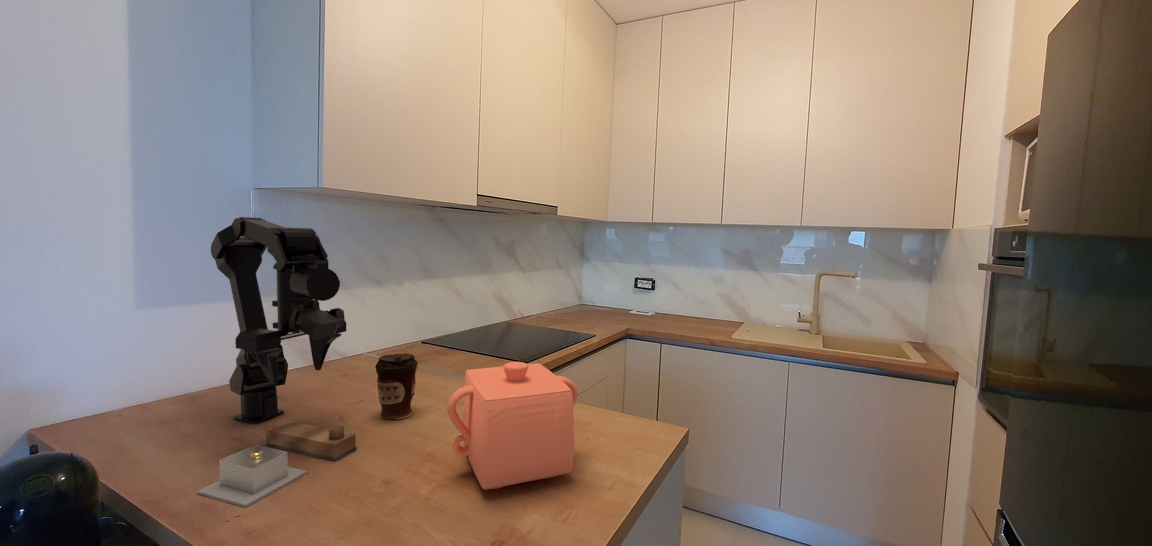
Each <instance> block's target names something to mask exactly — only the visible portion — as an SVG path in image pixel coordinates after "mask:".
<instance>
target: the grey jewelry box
mask: <svg viewBox="0 0 1152 546" xmlns="http://www.w3.org/2000/svg"><path fill="white" fill-rule="evenodd" d="M288 457H289V456H288V451H286V450H282V449H277V448H273V447H268V446H263V445H259V444H253V445H251V446H249V447H247V448H244V449H242V450H239V451H237V452H235V453H233V454H229V455H228V456H226V457H222V458H221V459H219V460H218V463H219V466H218V467H219V481H220V486H224V487H228V488H231V489H235V490H239V491H242V492H246V493H250V494H256V493H257V492H259V491H261V490H263V489H265V488H267V487H269V486H270V485H272V484H274V483H276V482H278V481H280V480H282V479H283V478H285V477H287V476H288V467H289V463H288V462H289V461H288Z"/></svg>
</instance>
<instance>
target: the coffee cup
mask: <svg viewBox="0 0 1152 546" xmlns="http://www.w3.org/2000/svg"><path fill="white" fill-rule="evenodd" d="M415 357H416V356H415V355H414V354H412V353H394V354H384V355H381V356H380V357H378V360H377V363H376V364H375V367H374V368H375V373H377V379H376V380H377V381H376V384H377V391H378V395H377V396H378V402H379V404H380V407H381V413H380V417H381V418H382V419H385V420H402V419H406V418H409V417H411V416H412V415H413V410H412V407H411V405H412V401H413V397H414V396H415V391H416V390H415V389H416V372H417V370H418V365H419V364H418V363H419V362H418V361H417V360H416V359H415Z"/></svg>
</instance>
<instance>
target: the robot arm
mask: <svg viewBox="0 0 1152 546" xmlns="http://www.w3.org/2000/svg"><path fill="white" fill-rule="evenodd" d="M316 233H317V232H316V231H315V230H314V229H313V228H312V227H311V228H310V227H285V226H282V225H279V224H277V223H274V222H270V221H267V220H266V219H265V218H261V217H249V216H247V217H245V216H239V217H237V218H236V217H235V218H234V219H233V221H232V223H231V224H230V225H229V226H227V227H225V228H223V229H221V230H219V232H217V233H216V234H215V236H214V238H213V240H212V242H211V246H210V255H211V257H212V259H214V261H215V265H216V267H217V269H218V270H219V272H221V273H222V274H223V275H224V276H225V277H226V278H227V279H228V281H229V284H230V290H231V293H232V294H231V295H232V298H233V305H234V308H235V314H236V318H237V324H238V329H239V332H238V333H237V336H236V337H235V349H237V350H239V352H238V354H237V356H236V358H235V359H236V360H235V362H236V363H235V364H236V366H235V368H234V370H233V372H232V374H231V376H230V378H229V381H228V382H229V388H230V392H232V393H234V394H237V395H238V396H240V412H241V413H240V414H238V415H235V416H234V417H233V420H236V421H239V422H246V423H251V424H259V423H261V422H264V421H266V420H269V419H272V418H273V417H276V416H279V415H281V414H284V413H285V410H284V409H279V407H278V405H279V404H278V403H279V402H278V393H277V387H280V386H285V385H286V382H287V381H286V380H287V375H288V372H289V371H288V369H289V363H288V360H287V359H286V358H285V353H284V347H283V345H282V344H281V343H282V341H285V340H289V339H293V338H297V337H302V336H308V339H309V346H310V350H311V351H310V352H311V358H312V363H313V366H314V369H315V371H321V369H322V367H323V364H324V361H325V359H326V357H327V355H328V351H329V348H330V346H331V345H332V343H333V342H334V341H336V340H337V338H340V337H341V336H342V333H344V332H347V322H346V321H347V320H345V311H344V309H342V308H340V307H336V308H335V307H334V308H331V309H330V310H328V309H327V310H322V309H321V308H320V302H319V301H321V302H324V301H329V300H331V299H333V298H334V297H335V296H336V295H337V294H338V292H339V290H340V287H341V286H340V285H341V281H340V279H339V276H338V275H337V273H336V272H335V271H334V270H332V269H330V268H329V260H328V256H329V255H328V254H327V251H326V250H325V248H324V247H323V245H322V242H321V240H320V237H319V236H318V234H316ZM266 250H267V251H266ZM265 251H266V252H267V253H269V254H270V255H271V256H272V257H273V259H274V260H275V263H274V264H273V266H272V268H273V269H274V270H276V296H277V297H276V300H272V302H271V303H272V304H271V306H272V307H276V308H277V321H276V322H272V329H275V330H272V329H269V328H268V324H267V318H266V314H265V310H264V305H263V299H262V296H261V291H260V286H259V281H258V276H257V272H258V270H259V269H260V266H261V264H262V263H263V254H264V253H265Z"/></svg>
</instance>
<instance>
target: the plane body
mask: <svg viewBox="0 0 1152 546" xmlns="http://www.w3.org/2000/svg"><path fill="white" fill-rule="evenodd" d="M356 435H357V434H356V433H353V432H349V431H345V426H343V425H335V426H331V427H329V428H328V427H322V426H317V425H312V424H307V423H303V422H297V421H291V420H287V421H285V422H282V423H280V424H278V425H276V426H272V427H270V428H268V429H266V430H265V438H266V442H265V447H268V448H273V449H277V450H282V451H286V452H291V453H296V454H300V455H303V456H304V455H306V456H309V457H310V456H311V457H314V458H319V459H323V460H328V461H333V462H338V461H340V460H342V459H344V458H345V457H347V456H348V455H350V454H352V453H354V452H355V451H357V450H358V448H357V443H356V442H357V441H356Z"/></svg>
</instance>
